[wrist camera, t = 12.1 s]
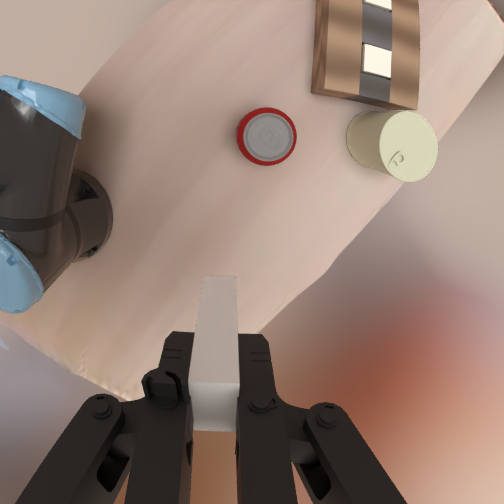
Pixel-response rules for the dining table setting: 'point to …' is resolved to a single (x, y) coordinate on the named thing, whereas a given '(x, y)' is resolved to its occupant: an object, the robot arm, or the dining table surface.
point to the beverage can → (266, 136)
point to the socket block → (349, 52)
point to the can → (393, 143)
